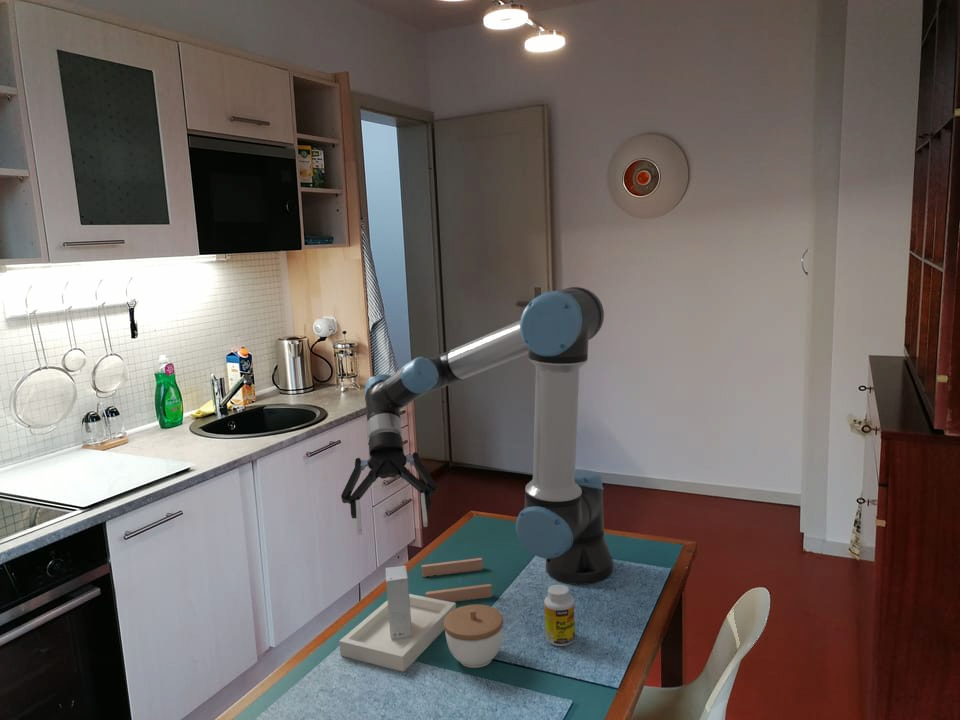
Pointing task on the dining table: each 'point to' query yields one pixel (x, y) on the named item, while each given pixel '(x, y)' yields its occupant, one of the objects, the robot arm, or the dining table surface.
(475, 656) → the lidded jar
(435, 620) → the cream tray
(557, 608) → the supplement bottle
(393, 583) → the skincare box
